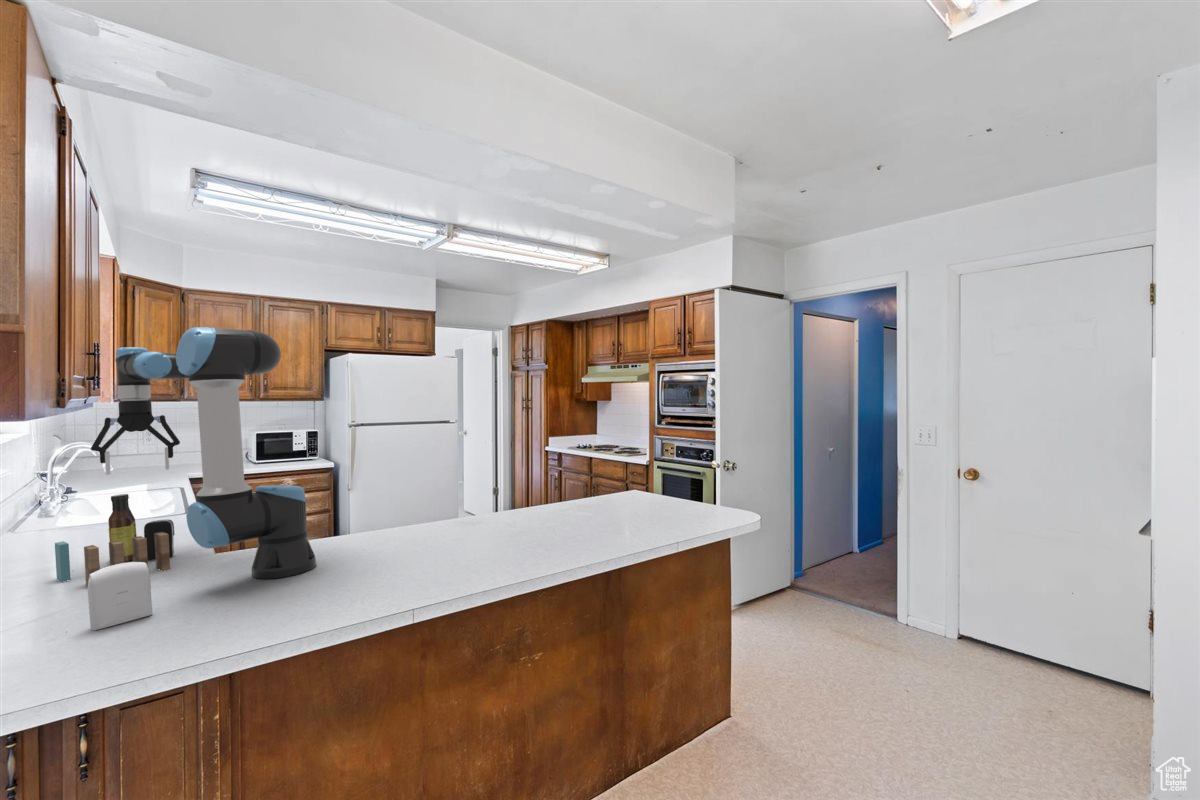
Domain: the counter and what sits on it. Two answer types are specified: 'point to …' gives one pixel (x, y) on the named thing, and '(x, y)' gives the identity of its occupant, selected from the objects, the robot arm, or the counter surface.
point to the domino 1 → (62, 561)
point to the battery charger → (157, 527)
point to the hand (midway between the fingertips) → (138, 471)
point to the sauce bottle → (122, 524)
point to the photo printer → (119, 594)
